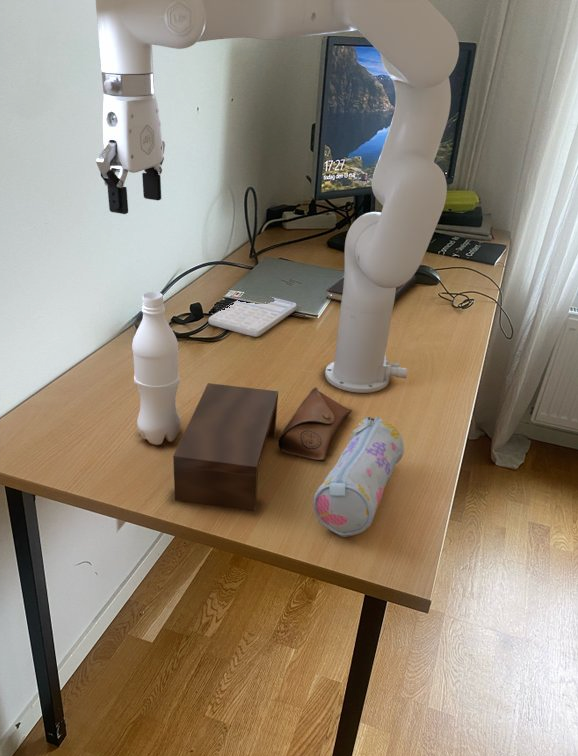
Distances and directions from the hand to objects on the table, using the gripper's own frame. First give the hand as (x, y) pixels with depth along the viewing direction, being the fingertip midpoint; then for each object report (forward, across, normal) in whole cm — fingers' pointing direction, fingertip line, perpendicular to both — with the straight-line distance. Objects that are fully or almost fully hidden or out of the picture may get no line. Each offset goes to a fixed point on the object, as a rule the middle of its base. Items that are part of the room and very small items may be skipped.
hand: (136, 205), depth 108 cm
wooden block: (+33, -16, -25) cm, 45 cm away
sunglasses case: (+34, +1, -34) cm, 48 cm away
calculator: (+34, +40, -4) cm, 52 cm away
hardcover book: (+34, +70, -23) cm, 81 cm away
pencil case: (+34, -14, -46) cm, 59 cm away
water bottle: (+34, -14, -11) cm, 38 cm away
